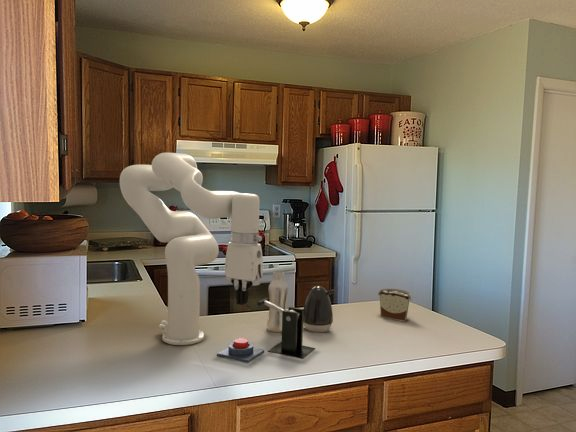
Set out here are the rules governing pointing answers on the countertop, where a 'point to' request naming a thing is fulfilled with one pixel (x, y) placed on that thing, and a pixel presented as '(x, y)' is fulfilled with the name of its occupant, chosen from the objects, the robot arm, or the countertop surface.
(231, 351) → the button box
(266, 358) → the countertop surface
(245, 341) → the button
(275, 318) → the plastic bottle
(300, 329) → the bracket
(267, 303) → the lever
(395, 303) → the food container
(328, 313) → the dark grey tapered dome
